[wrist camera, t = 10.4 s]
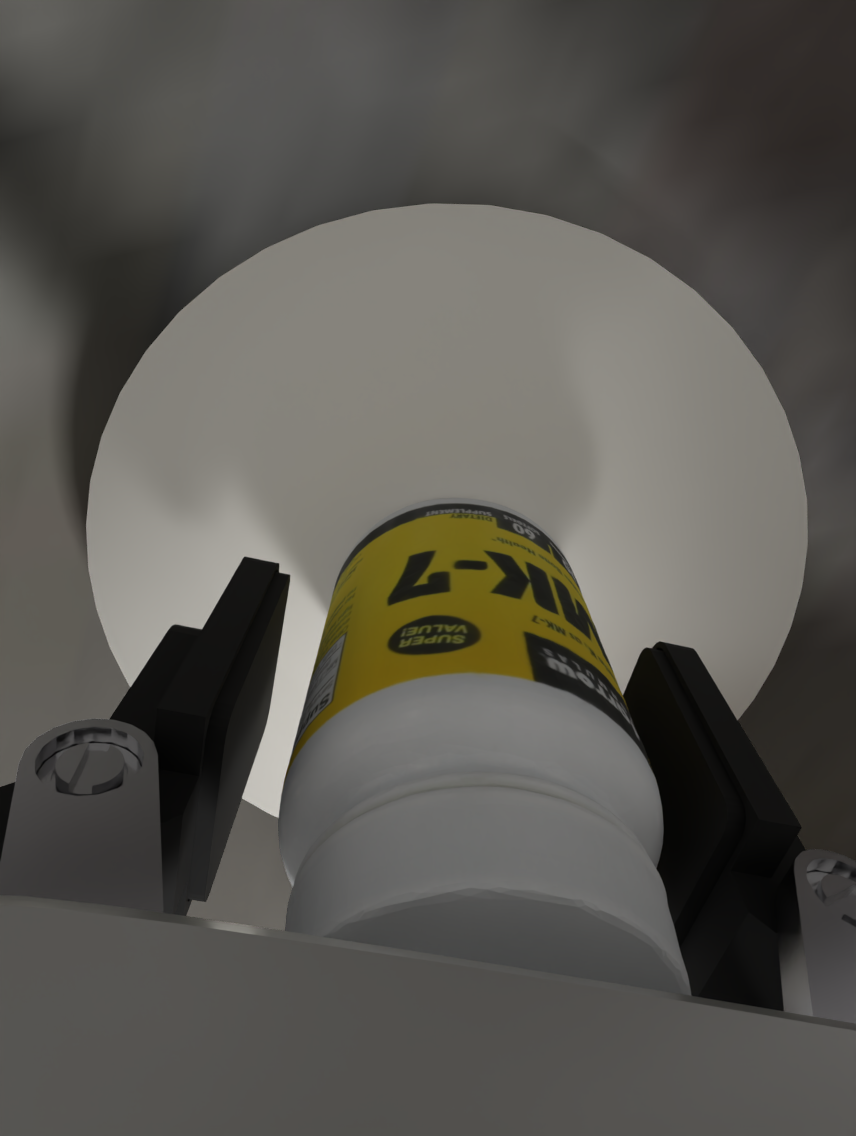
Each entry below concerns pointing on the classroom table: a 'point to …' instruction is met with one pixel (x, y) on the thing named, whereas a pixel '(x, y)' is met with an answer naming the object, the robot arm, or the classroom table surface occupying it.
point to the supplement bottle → (474, 762)
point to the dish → (451, 441)
